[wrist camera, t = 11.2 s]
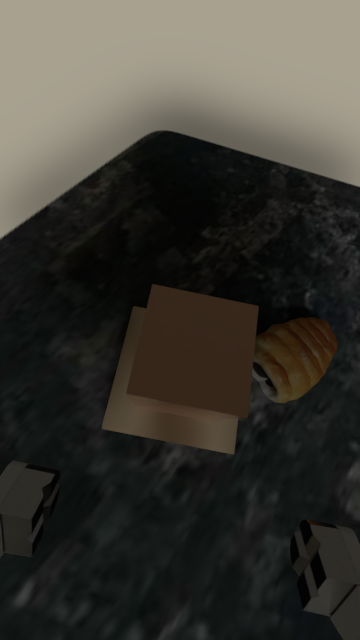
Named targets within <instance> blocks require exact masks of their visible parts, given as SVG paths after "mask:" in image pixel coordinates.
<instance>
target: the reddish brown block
mask: <svg viewBox="0 0 360 640" xmlns="http://www.w3.org/2000/svg"><path fill="white" fill-rule="evenodd" d="M258 308H259V306H256V305H251V304H246V303H242V302H237V301H232V300H227V299H222V298H217V297H213V296H208V295H203V294H198V293H193V292H189V291H184V290H179V289H174V288H169V287H164V286H160V285H155V284H152V288H151V292H150V296H149V300H148V304H147V309H146V313H145V317H144V321H143V325H142V329H141V333H140V337H139V342H138V346H137V350H136V354H135V358H134V362H133V366H132V370H131V374H130V379H129V383H128V387H127V391H126V395H127V396H128V397H129V399H130V400H131V402H132V403H133V404H134V406H135V407H140V408H145V409H150V410H155V411H160V412H165V413H170V414H175V415H180V416H185V417H190V418H195V419H200V420H205V421H210V422H216V421H225V420H234V419H242V418H248V409H249V399H250V389H251V379H252V369H253V359H254V349H255V339H256V329H257V318H258Z"/></svg>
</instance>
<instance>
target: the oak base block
mask: <svg viewBox="0 0 360 640" xmlns="http://www.w3.org/2000/svg"><path fill="white" fill-rule="evenodd" d="M145 313H146V308H141V307H136V306H133V309H132V313H131V317H130V321H129V325H128V329H127V332H126V336H125V340H124V344H123V348H122V352H121V356H120V359H119V363H118V367H117V371H116V375H115V379H114V382H113V386H112V390H111V394H110V398H109V402H108V405H107V409H106V413H105V417H104V421H103V425H102V429H106V430H111V431H116V432H121V433H126V434H132V435H137V436H142V437H147V438H152V439H157V440H162V441H167V442H172V443H177V444H183V445H188V446H193V447H198V448H203V449H208V450H213V451H218V452H223V453H228V454H234V451H235V441H236V432H237V423H238V419H234V420H225V421H216V422H210V421H205V420H200V419H195V418H190V417H185V416H180V415H175V414H170V413H165V412H160V411H155V410H150V409H145V408H140V407H135V406H134V404H133V403H132V402H131V400H130V399H129V397H128V396H127V395H126V391H127V387H128V383H129V379H130V374H131V370H132V366H133V362H134V358H135V354H136V350H137V346H138V342H139V337H140V333H141V329H142V325H143V321H144V317H145Z"/></svg>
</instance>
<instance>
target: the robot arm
mask: <svg viewBox="0 0 360 640" xmlns="http://www.w3.org/2000/svg"><path fill="white" fill-rule="evenodd" d="M59 478H60V470H55V469H50V468H46V467H41V466H36V465H32V464H28V463H23V462H18V461H12V462H11V463H10V464H9V465H8V466H7V467H6V469H5V470H4V472H3V473H2V475H1V476H0V557H1V556H2V555H3V554H4V552H5V553H12V554H18V555H24V556H30V557H32V556H33V554H34V552H35V550H36V548H37V546H38V544H39V541H40V539H41V537H42V535H43V525H44V523H45V522H46V521H47V520H49V519H50V518H51V515H52V513H53V511H54V509H55V506H56V503H57V500H58V496H59V488H60V486H59V485H58V484H57V482H58V480H59ZM299 527H300V530H301V531H299V532H296V533H294V535H293V537H292V539H291V545H290V554H291V561H292V565H293V567H294V569H295V570H296V572H297V573H298V574H299V578H298V581H297V587H298V591H299V595H300V599H301V604H302V608H303V610H305V611H309V612H313V613H318V614H322V615H327V616H331V618H330V619H331V620H332V622H333V623H334V625H335V627H336V628H337V630H338V632H339V633H340V635H341V636H342V638H343V640H360V544H359V542H358V539H357V537H356V535H355V533H354V532H353V530H352V529H350V528H347V527H342V526H336V525H333V524H328V523H323V522H317V521H312V520H306V519H305V520H302V521H301V523H300V525H299Z"/></svg>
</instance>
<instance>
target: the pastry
mask: <svg viewBox="0 0 360 640" xmlns="http://www.w3.org/2000/svg"><path fill="white" fill-rule="evenodd" d="M337 346H338V343H337V339H336V336H335V335H334V333H333V331H332V330H331V329H330V326H329V324H328V322H327V321H325V320H322V319H318V318H315V317H308V318H298V319H294V320H291V321H288V322H286V323H283V324H275V325H272V326H271V327H270V328H269V329H268V330H267V331H265V332H263V333H260V334H259V335H257V336H256V339H255V349H254V359H253V369H252V376H253V377H254V378H255V379H256V380H257V381H258V382H259V384H260V387H261V390H262V391H263V393H264V394H265V395H266V397H267V398H269V399H270V400H272V401H274V402H277V403H286V402H287V401H290V400H294V399H299V398H300V397H302V396H303V395H304V394H305V393H306V392H308V391H309V390H310V388H311V387H312V386H314V385H315V384H317V383H318V382H319V381H320V379H321V377H322V376H323V375H324V374H325V373H326V369H327V368H328V367H329V365H330V361H331V359H332V357H333V355H334V354H335V353H336V349H337Z"/></svg>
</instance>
